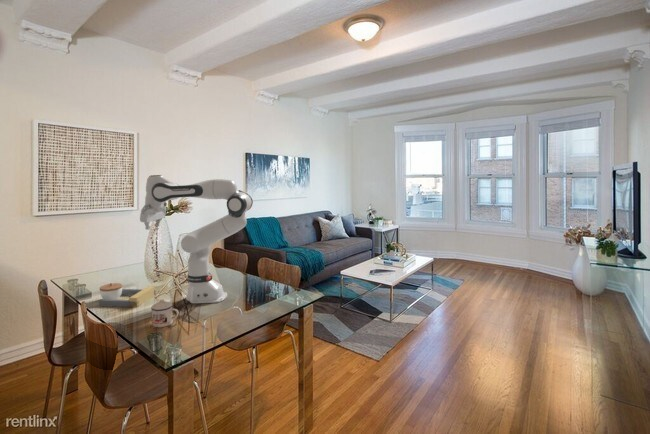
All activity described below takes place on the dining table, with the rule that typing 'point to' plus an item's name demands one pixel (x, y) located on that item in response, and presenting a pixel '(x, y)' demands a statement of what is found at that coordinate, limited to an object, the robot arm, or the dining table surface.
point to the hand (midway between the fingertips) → (152, 227)
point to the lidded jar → (111, 291)
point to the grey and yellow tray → (134, 300)
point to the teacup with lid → (163, 313)
